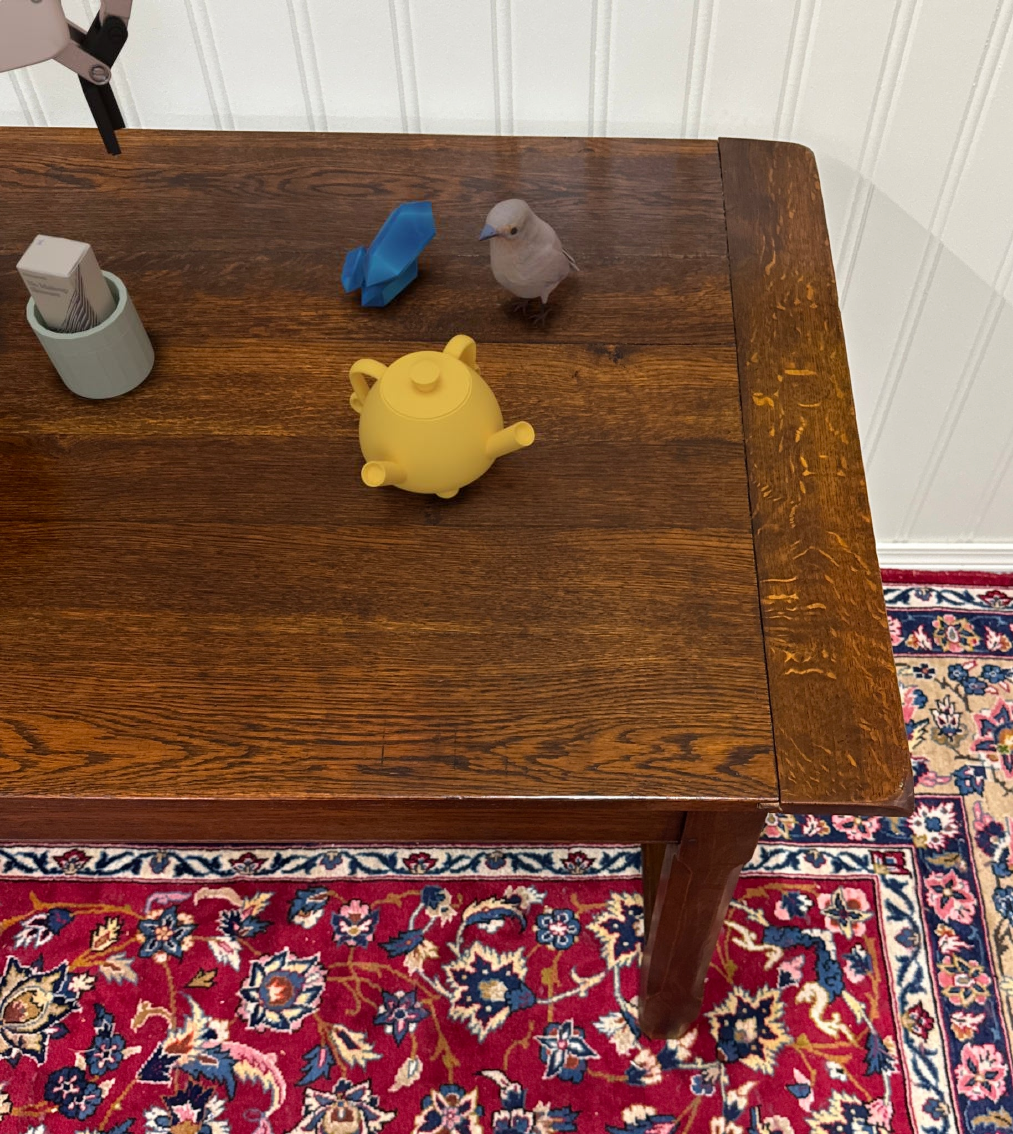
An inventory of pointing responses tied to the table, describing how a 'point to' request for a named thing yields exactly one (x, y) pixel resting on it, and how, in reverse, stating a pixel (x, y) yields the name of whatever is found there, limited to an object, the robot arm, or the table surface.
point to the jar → (100, 349)
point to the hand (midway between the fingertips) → (24, 163)
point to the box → (66, 284)
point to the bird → (525, 253)
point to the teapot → (430, 420)
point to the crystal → (390, 255)
